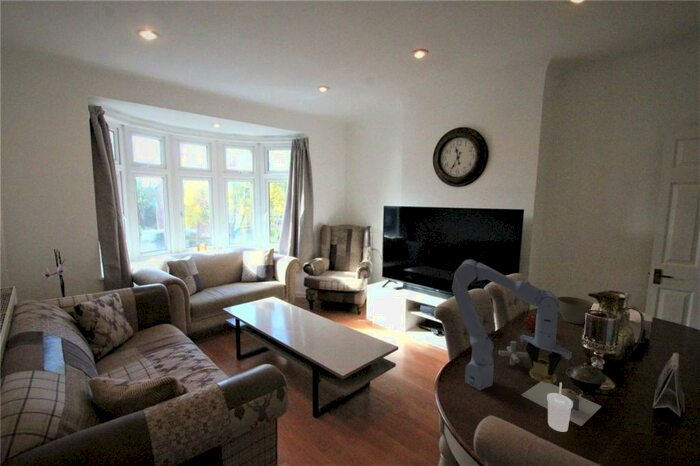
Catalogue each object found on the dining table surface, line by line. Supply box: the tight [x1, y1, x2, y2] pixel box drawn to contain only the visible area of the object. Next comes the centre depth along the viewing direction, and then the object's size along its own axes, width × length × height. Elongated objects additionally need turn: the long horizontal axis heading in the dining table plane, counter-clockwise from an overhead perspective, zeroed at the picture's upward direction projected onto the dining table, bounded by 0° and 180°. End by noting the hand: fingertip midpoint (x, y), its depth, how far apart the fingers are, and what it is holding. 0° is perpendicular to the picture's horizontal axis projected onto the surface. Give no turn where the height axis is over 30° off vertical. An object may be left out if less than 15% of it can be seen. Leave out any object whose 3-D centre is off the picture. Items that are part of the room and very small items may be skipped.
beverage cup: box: [547, 381, 573, 433], centre depth 88 cm, size 6×6×14 cm
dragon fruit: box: [521, 314, 537, 332], centre depth 154 cm, size 8×8×12 cm
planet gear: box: [529, 357, 558, 384], centre depth 101 cm, size 7×7×5 cm
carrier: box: [521, 381, 602, 427], centre depth 100 cm, size 15×17×4 cm
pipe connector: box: [498, 340, 529, 366], centre depth 121 cm, size 10×10×10 cm
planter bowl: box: [557, 296, 595, 325], centre depth 165 cm, size 16×16×11 cm
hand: (542, 370), depth 101 cm, fingers closed on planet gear, 4 cm apart
